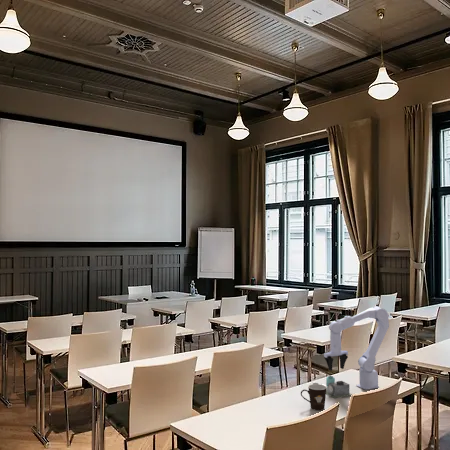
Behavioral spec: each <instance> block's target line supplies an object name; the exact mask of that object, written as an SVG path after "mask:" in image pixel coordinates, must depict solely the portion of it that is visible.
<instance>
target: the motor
mask: <svg viewBox="0 0 450 450" xmlns="http://www.w3.org/2000/svg"><path fill="white" fill-rule="evenodd" d="M320 385H324V386H326V384H324V383H321V384H320ZM326 387H327V388H326V395H327V396H329V397H331V398H333V399H338V398H345V397H351V395H352V396H353V394H352V393H351V392H350V384H349V383H348V382H345V381H343V380H338V381H337V380H336V381H335V382H333V383H328V386H326Z"/></svg>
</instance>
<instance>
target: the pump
mask: <svg viewBox="0 0 450 450" xmlns="http://www.w3.org/2000/svg"><path fill="white" fill-rule="evenodd" d="M325 381H326V382H325V383H326V384H325V385H326V386H328V383H333V382H336V377H334V376H333V375H328V376H327V377H326V380H325Z"/></svg>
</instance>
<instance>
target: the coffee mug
mask: <svg viewBox="0 0 450 450" xmlns="http://www.w3.org/2000/svg"><path fill="white" fill-rule="evenodd" d="M324 385H325V384H324ZM324 385H321V384H319V383H318V384H313V383H311V384H309V385H307V387H308V389H302V390H301V391H300V396H301V397H302V398H303V399H304V400H306V401H307V402H309V405H310V409H311V410H314V411H323V410H325V407H326V397H327V396H326V395H327V394H326V388H327V387H326V386H324ZM303 392H307V393H308V395H309V399H308V398H306V397H305V396H303Z"/></svg>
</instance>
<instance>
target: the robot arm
mask: <svg viewBox="0 0 450 450" xmlns="http://www.w3.org/2000/svg"><path fill="white" fill-rule="evenodd" d="M389 317H390V315H389V313H388V311H387V310H386V309H385V308H381V307H380V306H379V305H375V306H373V307H369V308H367V309H366V310H363V311H361V312H360V313H357V314H355V315H353V316H351V315H345V316H344V317H343V318H340V319H336V321H335V320H334V321H331V322H330V323H329V324H328V330H330V335H329V338H330V339H329V341H330V342H329V343H330V344H329V345H330V351H328V352H324V353H323V357H324V360H325V362H326V364H327V368H328V370H329V371H331V372H332V371H333V362H334V358H332V357H338V359H339V369H342V370H343V369H345V364H346V361H347V360H348V358H349V357H348V355H349V351H348V350H342V335H341V334H342V331H344V330H346V329H349V328H352V327H353V326H354V325H355V323H357V322H360V321H363V320H365V319H369V318H370V319H375V321H376V323H377V327H376V330H375V331H374V334H373V337H372V338H371V340H370V342H369V344H368V346H367V349H366V350H365V352H363V353H362V355H361V356H360V357H359V359H358V360H357V363H358V366H359V383H358V384H356V387H358V388H360V389H363V390H367V391H368V390H374V389H379V388H380V386H379V374H378V371H377V370H375V366H376V365H375V363H376V360H377V359H376V357H377V354H378V352H379V349H380V347H381V345H382V342H383V340H384V339H385V336H386V335H387V332H388V329H389V328H390V321H389V320H390V319H389Z"/></svg>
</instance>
